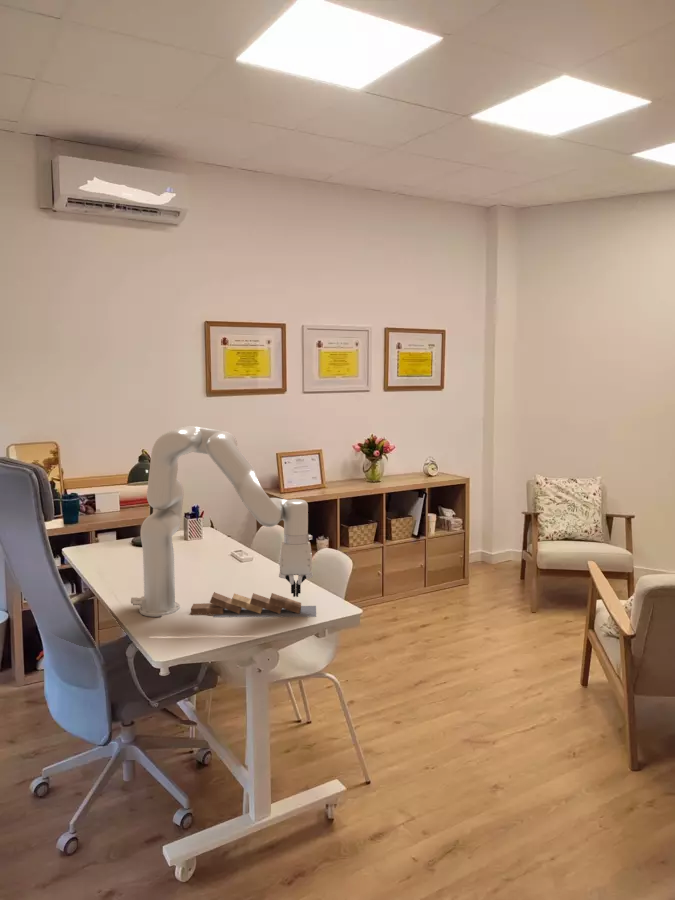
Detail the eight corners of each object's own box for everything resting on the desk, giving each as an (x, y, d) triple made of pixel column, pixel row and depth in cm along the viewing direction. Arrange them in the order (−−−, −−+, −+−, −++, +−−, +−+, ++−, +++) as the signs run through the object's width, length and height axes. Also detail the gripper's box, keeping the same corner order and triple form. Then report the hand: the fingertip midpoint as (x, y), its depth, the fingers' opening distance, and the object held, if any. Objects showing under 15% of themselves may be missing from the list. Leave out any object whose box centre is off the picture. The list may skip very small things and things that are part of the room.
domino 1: (223, 613, 216) (191, 614, 216) (225, 608, 221) (193, 609, 221) (222, 607, 216) (190, 608, 216) (224, 602, 221) (193, 603, 220)
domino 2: (239, 613, 217) (209, 602, 216) (240, 608, 221) (211, 597, 220) (241, 608, 216) (211, 596, 216) (243, 603, 221) (214, 592, 220)
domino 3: (260, 613, 217) (230, 603, 216) (261, 608, 221) (232, 599, 221) (262, 608, 217) (232, 598, 216) (263, 603, 221) (234, 593, 220)
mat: (212, 618, 214) (212, 617, 214) (217, 607, 224) (217, 606, 224) (316, 617, 215) (316, 616, 215) (316, 606, 225) (316, 605, 225)
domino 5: (298, 613, 217) (268, 603, 217) (299, 608, 222) (269, 598, 221) (301, 607, 217) (271, 597, 216) (301, 602, 222) (271, 593, 221)
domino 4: (279, 613, 217) (249, 603, 216) (280, 608, 222) (251, 598, 221) (282, 607, 217) (251, 597, 216) (282, 603, 221) (253, 593, 221)
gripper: (319, 536, 221) (319, 591, 223) (272, 536, 220) (272, 591, 222) (319, 541, 213) (319, 599, 215) (271, 541, 213) (271, 599, 215)
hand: (295, 595), depth 219 cm, fingers closed
